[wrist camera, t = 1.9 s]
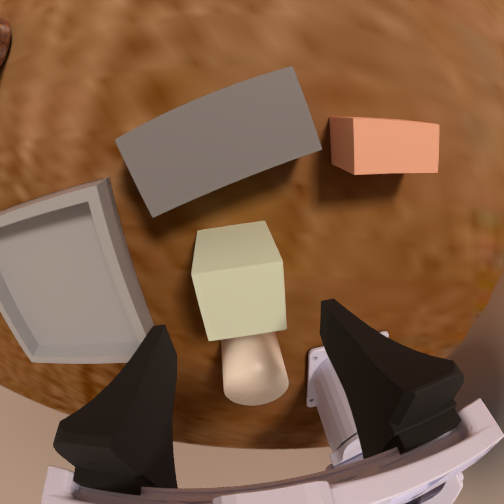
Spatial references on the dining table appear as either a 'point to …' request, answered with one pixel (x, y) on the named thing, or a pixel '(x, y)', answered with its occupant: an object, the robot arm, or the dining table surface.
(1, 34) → the sauce bottle
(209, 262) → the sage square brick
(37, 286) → the grey tray
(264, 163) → the grey rectangular block
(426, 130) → the terracotta slim brick
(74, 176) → the dining table surface
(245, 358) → the cream round brick
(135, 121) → the dining table surface
